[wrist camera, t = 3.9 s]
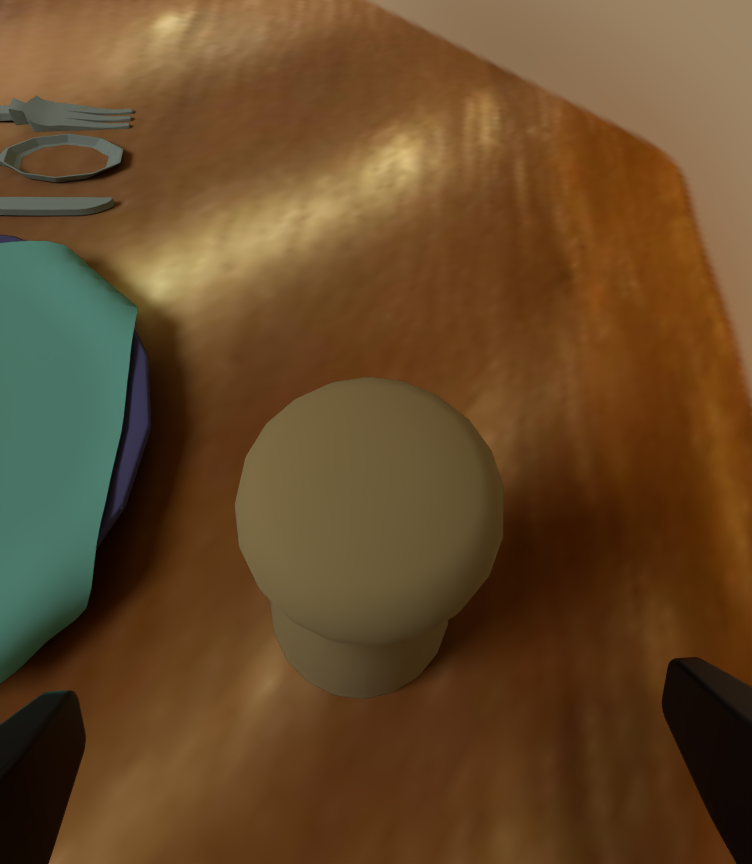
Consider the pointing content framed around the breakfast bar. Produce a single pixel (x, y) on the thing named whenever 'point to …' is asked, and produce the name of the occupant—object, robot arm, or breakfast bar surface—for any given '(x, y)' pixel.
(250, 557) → the cork
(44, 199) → the cutlery set
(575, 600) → the breakfast bar surface
